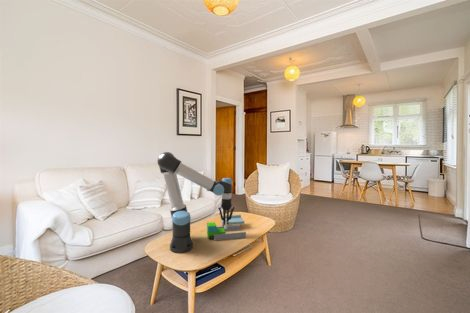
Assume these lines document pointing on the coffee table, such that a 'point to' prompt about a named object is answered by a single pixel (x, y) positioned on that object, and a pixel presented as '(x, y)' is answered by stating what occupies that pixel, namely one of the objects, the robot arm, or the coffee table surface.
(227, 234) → the grey long bars
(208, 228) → the toy car
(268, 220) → the coffee table surface
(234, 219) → the cover
